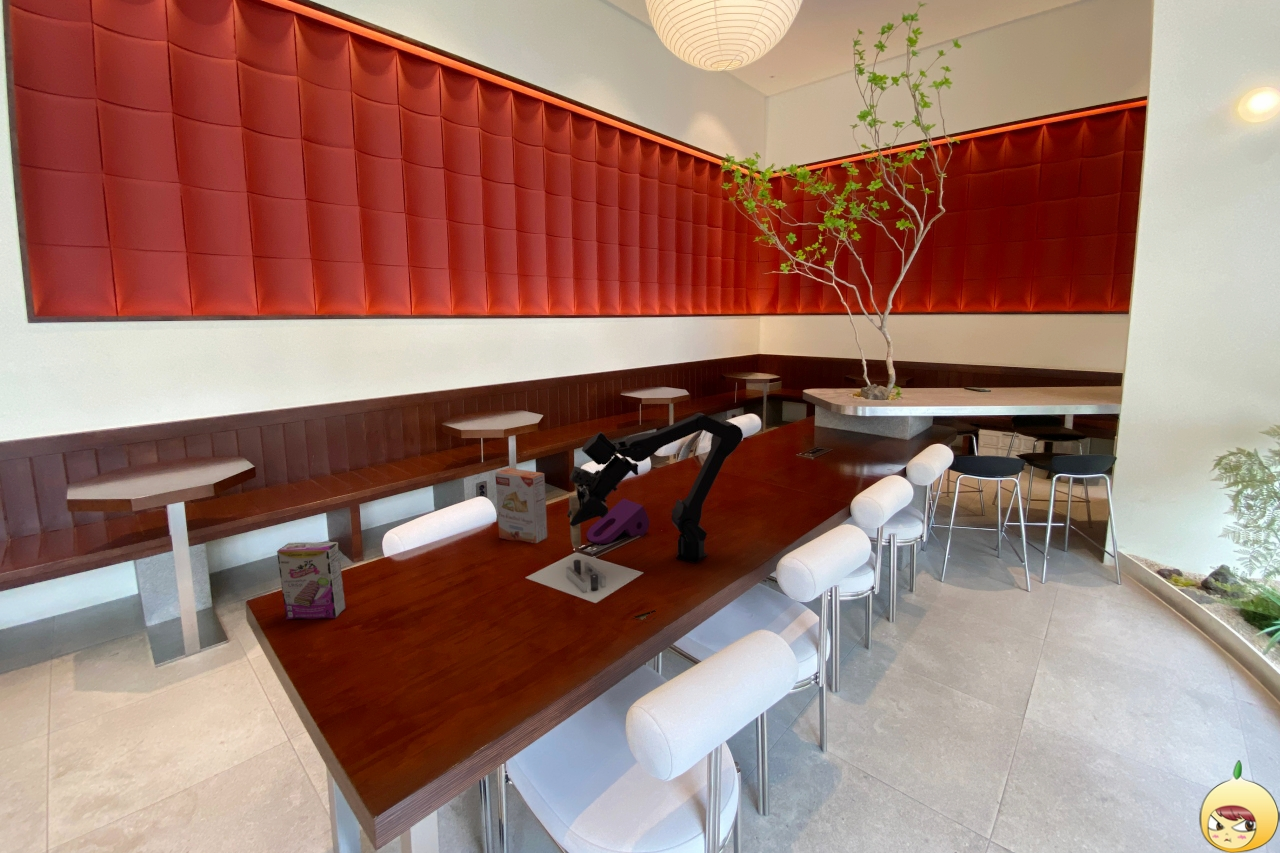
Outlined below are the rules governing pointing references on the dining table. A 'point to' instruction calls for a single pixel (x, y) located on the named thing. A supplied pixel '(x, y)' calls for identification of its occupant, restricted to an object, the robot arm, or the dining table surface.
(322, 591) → the candy bar box
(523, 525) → the cracker box
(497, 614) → the dining table surface
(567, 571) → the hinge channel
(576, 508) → the wooden block
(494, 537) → the dining table surface
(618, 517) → the mounting bracket
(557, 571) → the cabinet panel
